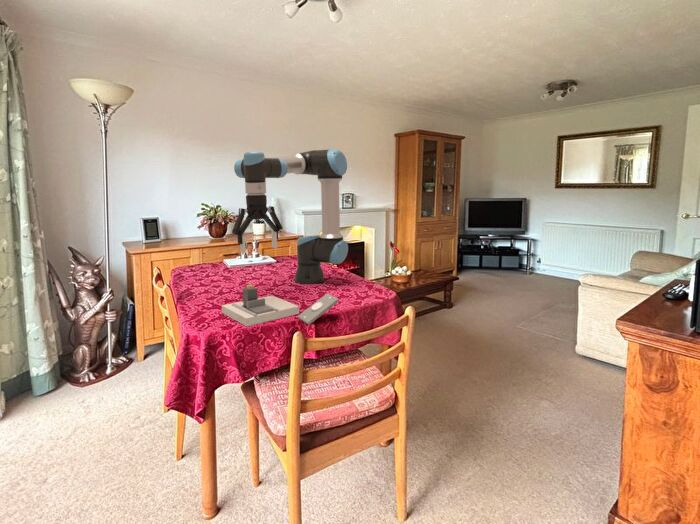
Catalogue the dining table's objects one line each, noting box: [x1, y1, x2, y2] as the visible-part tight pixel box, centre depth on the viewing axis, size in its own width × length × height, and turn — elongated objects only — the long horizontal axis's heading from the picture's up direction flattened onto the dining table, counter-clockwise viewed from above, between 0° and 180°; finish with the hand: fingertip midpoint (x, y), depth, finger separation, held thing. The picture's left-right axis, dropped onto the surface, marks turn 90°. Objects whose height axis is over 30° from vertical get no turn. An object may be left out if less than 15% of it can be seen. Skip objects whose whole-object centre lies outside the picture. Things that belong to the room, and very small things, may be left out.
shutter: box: [247, 297, 273, 314], centre depth 149 cm, size 7×7×3 cm
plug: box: [242, 284, 259, 309], centre depth 154 cm, size 4×4×11 cm
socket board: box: [221, 295, 300, 327], centre depth 155 cm, size 20×22×4 cm
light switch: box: [297, 293, 340, 326], centre depth 149 cm, size 8×6×14 cm
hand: (259, 250), depth 156 cm, fingers open, 13 cm apart
